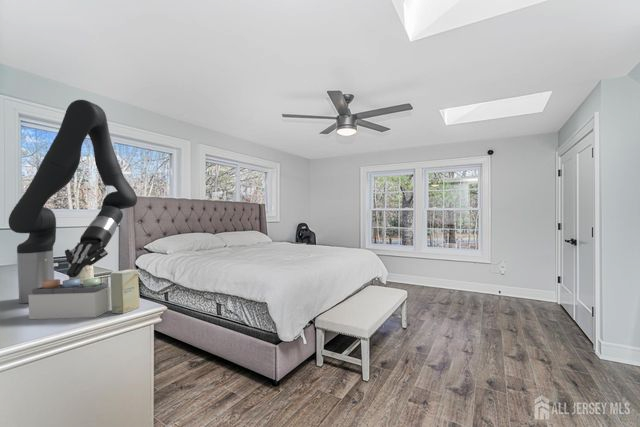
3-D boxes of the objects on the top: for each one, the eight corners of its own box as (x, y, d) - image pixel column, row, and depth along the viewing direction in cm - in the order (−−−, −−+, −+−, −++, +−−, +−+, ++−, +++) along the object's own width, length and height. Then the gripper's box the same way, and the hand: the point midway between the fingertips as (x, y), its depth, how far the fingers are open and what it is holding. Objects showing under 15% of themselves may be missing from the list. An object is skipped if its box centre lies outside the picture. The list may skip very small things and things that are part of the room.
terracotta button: (38, 289, 86) (38, 282, 86) (50, 285, 90) (50, 279, 90) (52, 289, 86) (51, 282, 86) (63, 285, 90) (63, 279, 90)
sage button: (79, 288, 86) (79, 281, 86) (90, 284, 90) (89, 278, 90) (93, 287, 86) (93, 281, 86) (103, 284, 90) (102, 277, 90)
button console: (29, 319, 84) (28, 290, 84) (51, 310, 91) (50, 284, 91) (95, 317, 84) (94, 288, 84) (112, 308, 91) (111, 282, 91)
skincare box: (123, 314, 86) (121, 273, 86) (110, 313, 87) (109, 273, 87) (140, 307, 93) (138, 269, 92) (128, 306, 93) (127, 268, 93)
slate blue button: (59, 288, 86) (58, 282, 86) (70, 285, 90) (70, 278, 90) (72, 288, 86) (72, 281, 86) (83, 284, 90) (83, 278, 90)
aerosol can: (98, 294, 108) (97, 241, 108) (85, 300, 102) (83, 243, 101) (79, 295, 108) (77, 241, 108) (64, 301, 101) (62, 244, 101)
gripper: (73, 225, 97) (40, 269, 85) (113, 224, 97) (85, 268, 85) (86, 240, 102) (57, 283, 90) (124, 238, 102) (100, 281, 90)
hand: (71, 275), depth 88 cm, fingers closed
